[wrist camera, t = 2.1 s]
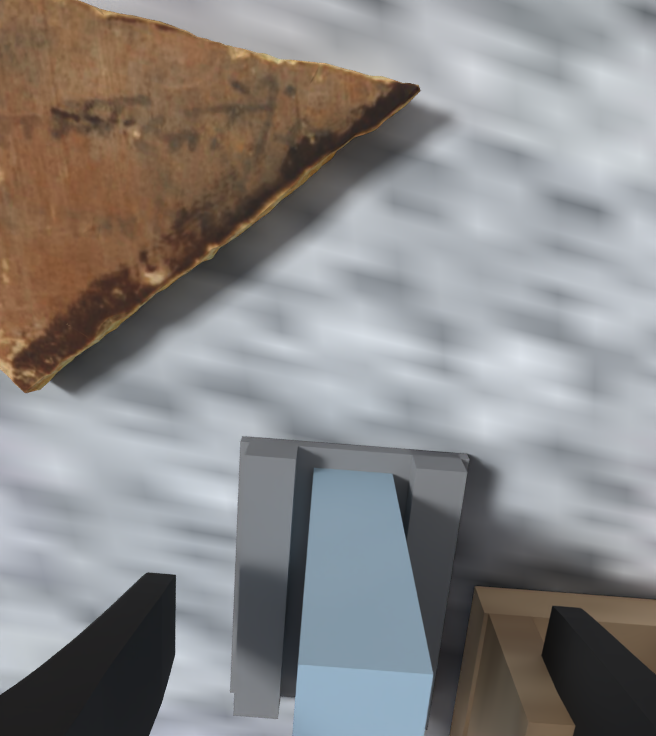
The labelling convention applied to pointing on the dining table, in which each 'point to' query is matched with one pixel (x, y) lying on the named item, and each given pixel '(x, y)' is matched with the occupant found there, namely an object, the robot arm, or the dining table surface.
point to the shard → (142, 163)
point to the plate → (360, 615)
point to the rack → (532, 658)
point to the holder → (290, 541)
